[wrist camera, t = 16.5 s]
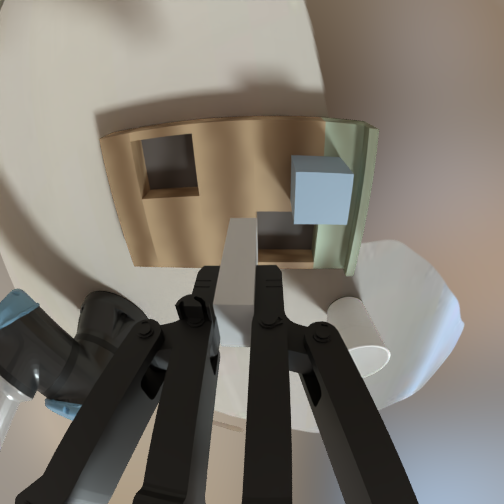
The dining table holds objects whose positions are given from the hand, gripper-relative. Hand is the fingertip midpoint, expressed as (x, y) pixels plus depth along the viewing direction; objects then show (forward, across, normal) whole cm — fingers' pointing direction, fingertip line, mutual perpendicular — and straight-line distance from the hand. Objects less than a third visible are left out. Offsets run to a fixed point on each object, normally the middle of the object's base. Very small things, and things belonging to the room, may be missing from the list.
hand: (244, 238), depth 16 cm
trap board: (+16, -3, -4) cm, 17 cm away
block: (+13, +6, -1) cm, 15 cm away
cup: (+16, +14, -24) cm, 32 cm away
